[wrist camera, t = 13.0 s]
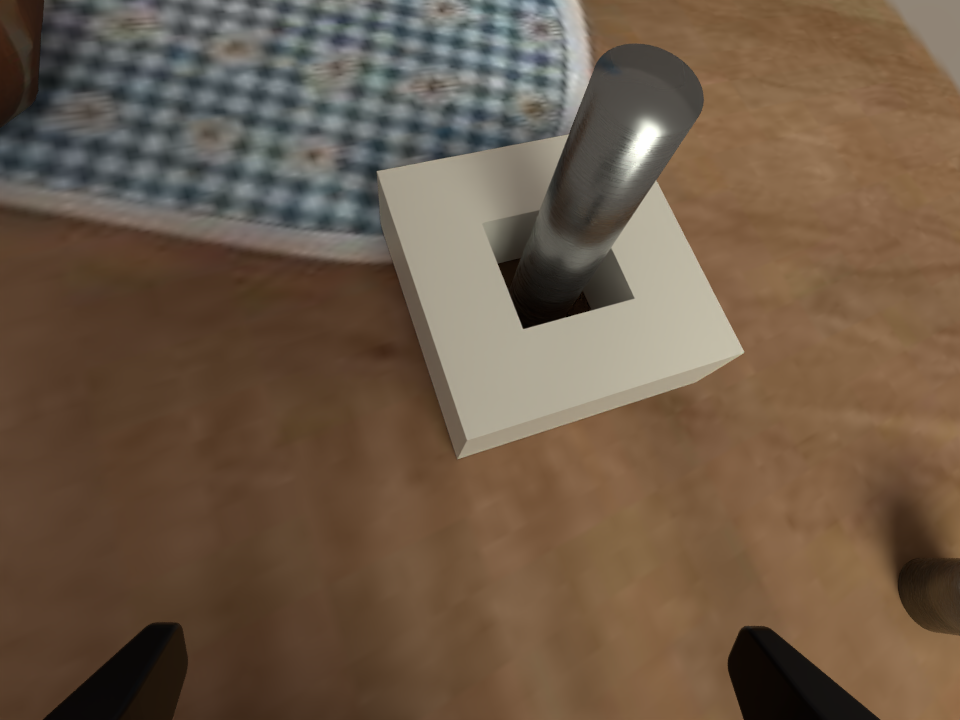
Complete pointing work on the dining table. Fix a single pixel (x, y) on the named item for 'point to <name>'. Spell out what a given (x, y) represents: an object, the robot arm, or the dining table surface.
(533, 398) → the collar
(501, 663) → the dining table surface
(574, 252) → the long pin
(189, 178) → the dining table surface
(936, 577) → the short pin
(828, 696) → the robot arm
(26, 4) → the butternut squash
